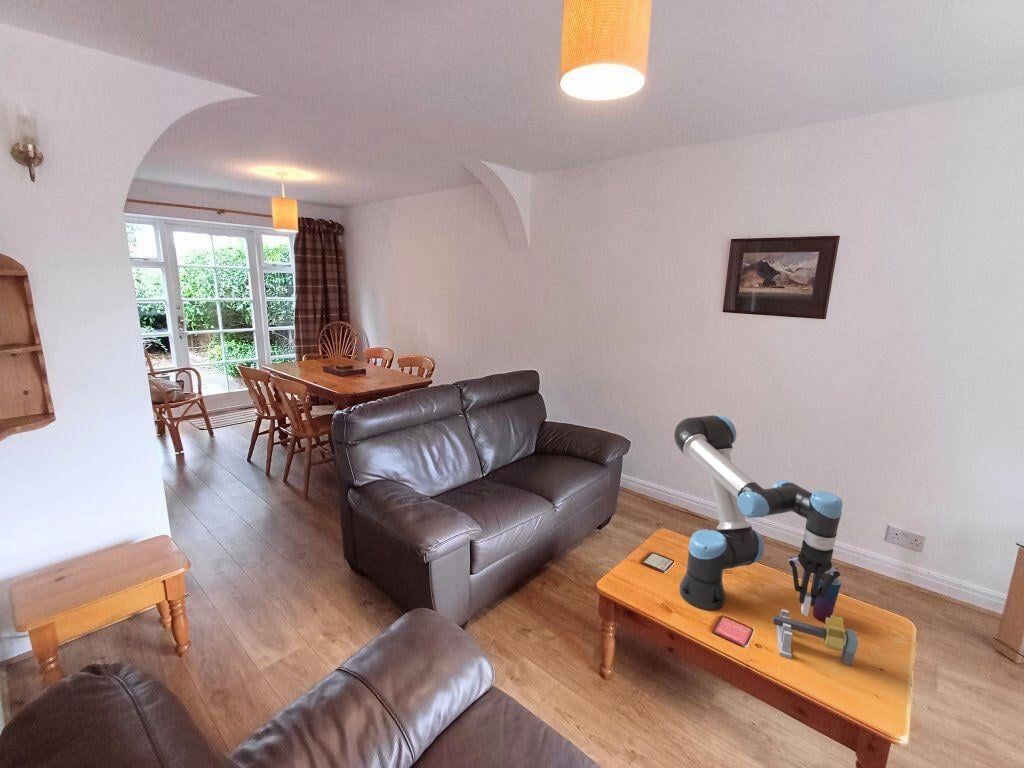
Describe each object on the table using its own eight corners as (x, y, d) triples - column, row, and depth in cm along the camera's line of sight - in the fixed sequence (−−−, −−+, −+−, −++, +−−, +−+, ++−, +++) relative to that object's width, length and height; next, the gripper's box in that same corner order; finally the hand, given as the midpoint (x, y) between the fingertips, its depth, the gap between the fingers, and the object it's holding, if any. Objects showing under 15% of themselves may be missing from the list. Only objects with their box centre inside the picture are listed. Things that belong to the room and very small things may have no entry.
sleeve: (825, 646, 135) (830, 620, 133) (822, 635, 140) (827, 609, 138) (841, 651, 134) (846, 625, 132) (838, 639, 138) (843, 614, 136)
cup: (826, 627, 149) (833, 587, 146) (805, 614, 155) (812, 575, 151) (838, 620, 152) (845, 581, 149) (817, 607, 158) (823, 569, 155)
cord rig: (771, 653, 139) (775, 627, 137) (769, 624, 150) (773, 600, 148) (856, 679, 130) (861, 651, 128) (846, 646, 141) (851, 621, 139)
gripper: (793, 544, 132) (780, 613, 138) (847, 557, 127) (832, 628, 133) (790, 531, 139) (778, 598, 145) (842, 543, 134) (827, 611, 139)
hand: (804, 612), depth 139 cm, fingers closed
